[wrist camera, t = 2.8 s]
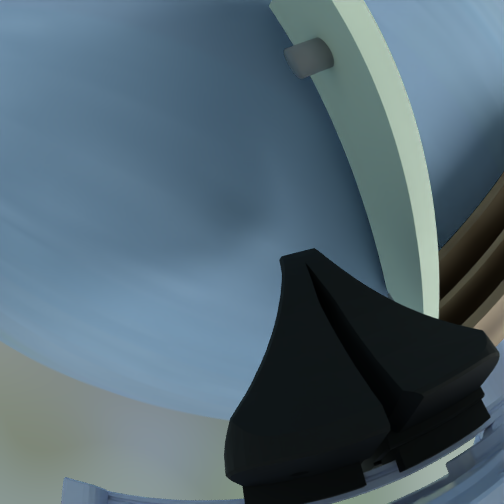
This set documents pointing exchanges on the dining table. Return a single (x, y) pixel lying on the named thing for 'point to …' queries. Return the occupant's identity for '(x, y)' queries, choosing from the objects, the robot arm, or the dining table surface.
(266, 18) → the dining table surface
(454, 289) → the cabinet
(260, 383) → the robot arm
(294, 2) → the door
